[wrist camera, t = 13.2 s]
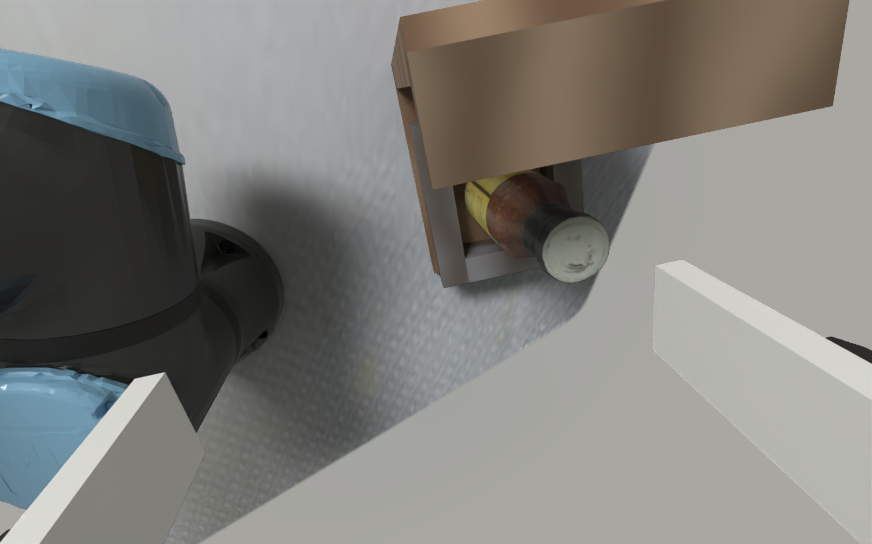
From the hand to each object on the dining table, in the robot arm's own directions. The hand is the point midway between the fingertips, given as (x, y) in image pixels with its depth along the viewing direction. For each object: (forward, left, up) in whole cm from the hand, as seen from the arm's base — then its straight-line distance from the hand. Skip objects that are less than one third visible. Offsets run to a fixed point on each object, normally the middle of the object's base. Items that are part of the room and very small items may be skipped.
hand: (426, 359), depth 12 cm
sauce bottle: (+9, -4, -32) cm, 34 cm away
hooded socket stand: (+9, -1, -33) cm, 34 cm away
